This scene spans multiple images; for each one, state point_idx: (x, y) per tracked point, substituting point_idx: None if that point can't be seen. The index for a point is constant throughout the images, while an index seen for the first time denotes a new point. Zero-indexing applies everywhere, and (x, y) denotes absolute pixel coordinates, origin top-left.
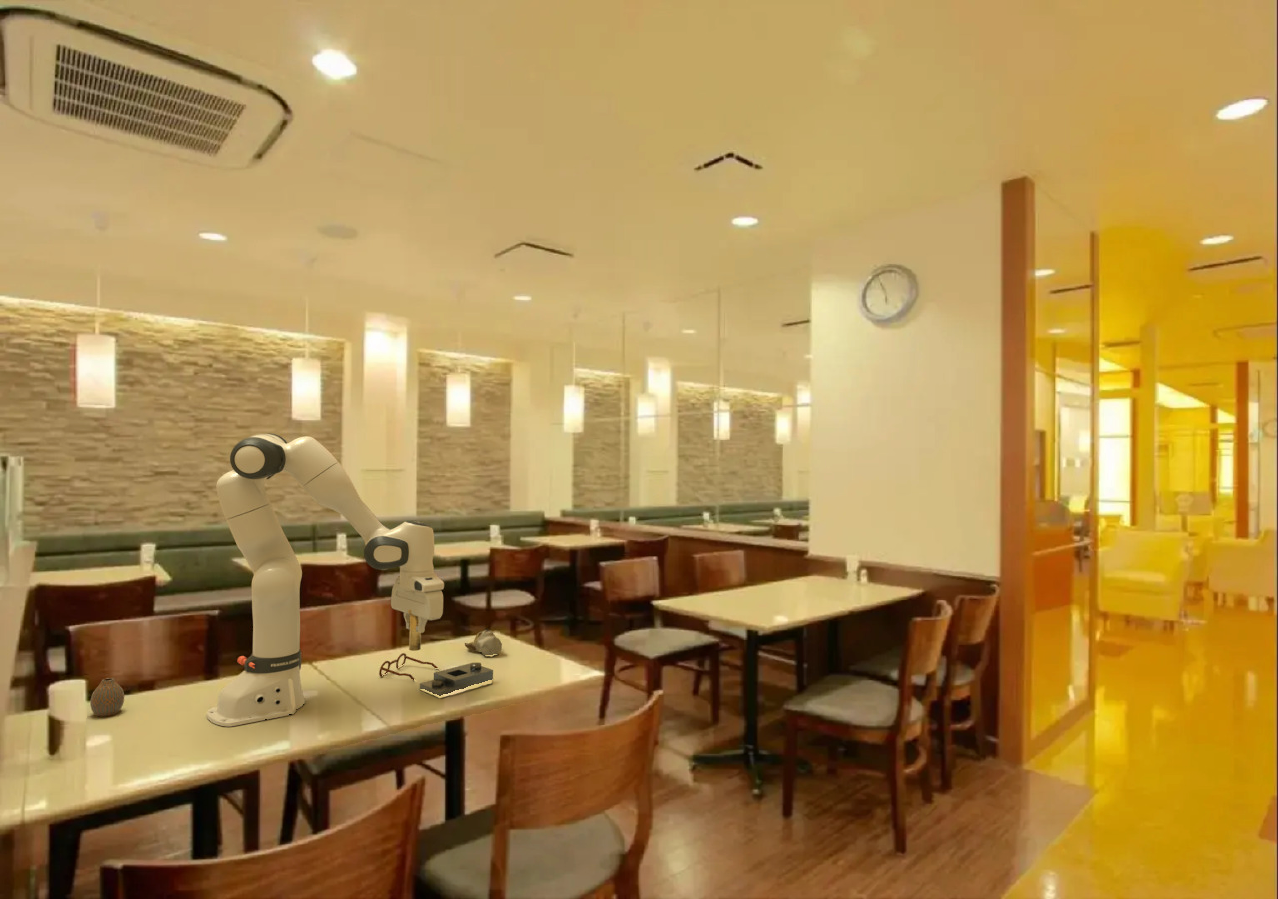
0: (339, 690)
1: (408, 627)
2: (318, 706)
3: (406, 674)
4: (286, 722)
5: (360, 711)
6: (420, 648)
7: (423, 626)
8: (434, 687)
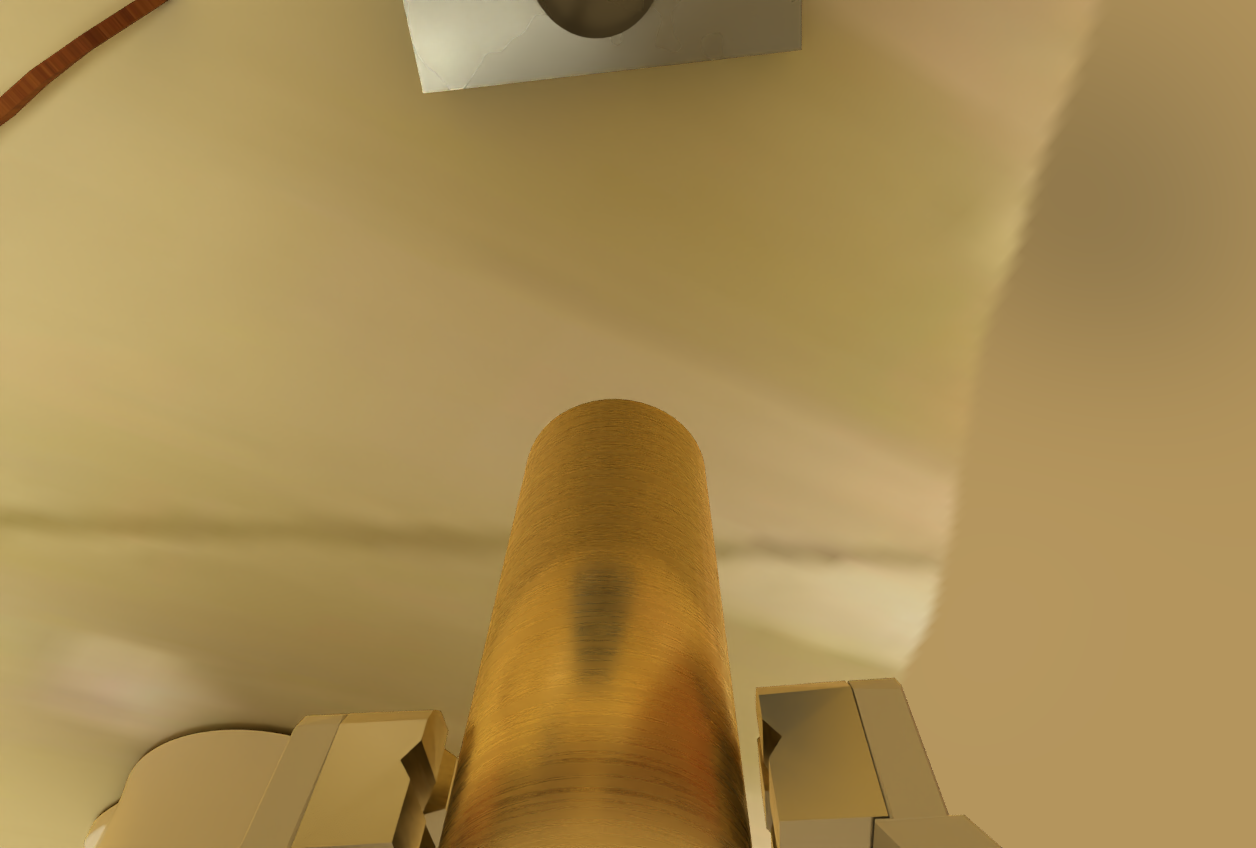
0: (137, 547)
1: (437, 842)
2: (392, 704)
3: (60, 71)
4: None
5: None
6: (671, 422)
7: (938, 823)
8: (640, 31)
